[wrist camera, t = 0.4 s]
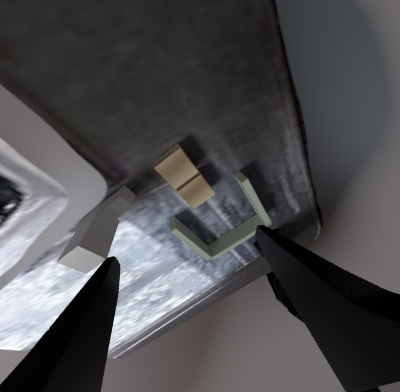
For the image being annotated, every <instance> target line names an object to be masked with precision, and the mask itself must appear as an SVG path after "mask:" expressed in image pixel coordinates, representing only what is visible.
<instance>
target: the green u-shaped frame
mask: <svg viewBox="0 0 400 392" xmlns="http://www.w3.org/2000/svg"><path fill="white" fill-rule="evenodd" d="M233 175H234V176H235V178H236V180H237V181H238V183H239V185H240V186H241V188H242V190H243V191H244V193H245V195H246V196H247V198H248V200H249V201H250V203H251V205H252V206H253V208H254V210H255V211H256V213H257V214H256V215H255V216H253V217H251V218H250V219H248V220H247V221H245V222H244V223H242V224H240V225H239V226H237V227H236V228H234V229H233V230H231V231H230V232H228V233H226V234H225V235H223V236H222V237H220V238H219V239H217V240H215V241H214V242H212V243H211V244H209V245H207V244H205V243H204V242H203V241H202V240H201V239H200V238H199V237H197V236H196V235H195V234H194V233H193V232H192V231H191V230H189V229H188V228H187V227H186V226H185V225H184V224H183V223H182V222H180V221H179V220H178V219H177V218H176V217H175V216H173V217H172V218H171V219H170V230H171V232H172V233H173V234H174V235H175V236H177V237H178V238H179V239H181V240H182V241H183V242H184V243H186V244H187V245H188V246H190V247H191V248H192V249H193V250H195V251H196V252H197V253H199V254H200V255H201V256H203V257H204V258H205V259H206V260H208V261H209V262H212V261H213V260H215V259H216V258H218V257H220V256H221V255H223V254H225V253H226V252H228V251H229V250H231V249H233V248H234V247H236V246H237V245H239V244H241V243H242V242H244V241H246V240H247V239H249V238H250V237H252V236H254V235H255V232H256V227H257V226H258V225H265V226H267V227H268V226H270V225H271V224H272V223H271V221H270V219H269V217H268V215H267V213H266V212H265V210H264V208H263V206H262V204H261V202H260V201H259V199H258V197H257V195H256V193H255V191H254V189H253V188H252V186H251V184H250V182H249V180H248V179H247V178H246V177H245V176H244V175H243V174H242V173H241V172H240V171H238V172H236V173H235V174H233Z"/></svg>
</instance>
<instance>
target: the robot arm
mask: <svg viewBox="0 0 400 392" xmlns="http://www.w3.org/2000/svg"><path fill="white" fill-rule="evenodd" d="M255 237H256V239H257V242H255V243H254V246H255V247H256V249H257V250H258V251H259V252H260V254H261V255H262V256H263V257H265V259H266V260H267V262H268V263H269V265H270V266H271V268H272V270H273V271H271V272H270V273H267V274H266V275H267V277H268V280H269V283H270V285H271V287H272V289H273V291H274V293H275V296H276V299H277V300H278V301H280V302H281V303H282V304H283V305H284V306H285V307H286V308H287V309H288V311H289V312H290V313H291V314H292V315H294V316H295V317H297V318H298V319H299V320H301V321H302V322H303V323H305V325H306V326H307V328H308V330H309V331H310V332H311V335H312V336H313V338H314V340H315V341H316V343H317V345H318V346H319V348H320V350H321V351H322V353H323V354H324V356H325V358H326V360H327V361H328V363H329V365H330V366H331V368H332V370H333V371H334V373H335V375H336V376H337V378H338V380H339V381H340V383H341V385H342V386H343V388H344V389H345V391H346V392H400V294H397V293H393V292H390V291H388V290H385V289H383V288H381V287H379V286H377V285H375V284H373V283H371V282H368V281H367V280H364V279H362V278H360V277H358V276H356V275H354V274H352V273H350V272H348V271H346V270H344V269H342V268H340V267H338V266H337V265H335V264H333V263H331V262H329V261H327V260H326V259H324V258H322V257H319V256H318V255H317V254H315V253H313V252H311V251H309V250H308V249H306V248H304V247H302V246H301V245H299V244H297V243H295V242H294V241H292V240H290V239H288V238H286V237H285V236H283V235H282V234H281V232H280V231H279V230H278V229H277V230H275V231H274V230H272V229H270V228H269V227H267V226H265V225H258V226H257V227H256V232H255ZM119 280H120V264H119V262H118V260H117V258H116V257H115V256H113V257H108V258H106V259H105V261H104V262H103V263H102V264H101V266H100V267H99V268H98V269H97V270H96V272H95V273H94V274H93V275H92V276H91V278H90V279H89V280H88V281H87V283H86V284H85V285H84V286H83V287H82V289H81V290H80V291H79V292H78V294H77V295H76V296H75V297H74V298H73V300H72V301H71V302H70V303H69V305H68V306H67V307H66V308H65V309H64V311H63V312H62V313H61V314H60V316H59V317H58V318H57V319H56V320H55V322H54V323H53V324H52V325H51V326H50V328H49V330H47V331H46V332H45V334H44V335H43V336H42V337H41V339H40V340H39V341H38V342H37V343H36V345H35V346H34V347H33V348H32V349H31V350H30V352H29V353H28V354H27V356H25V358H24V359H23V360H22V361H21V362H20V363H19V364H18V366H17V367H16V368H15V369H14V370H13V371H12V372H11V373H10V374H9V376H8V377H7V378H6V379H5V380H4V381H3V382H2V383H1V384H0V392H101V386H102V381H103V375H104V370H105V365H106V359H107V354H108V349H109V343H110V338H111V332H112V327H113V322H114V316H115V311H116V305H117V300H118V293H119Z"/></svg>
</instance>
